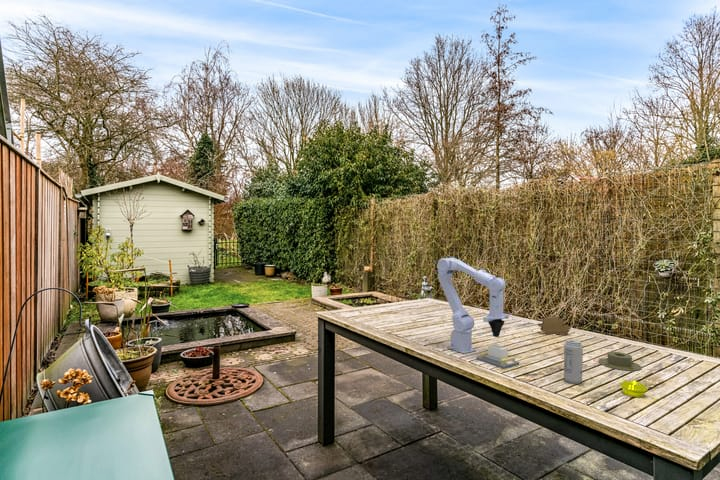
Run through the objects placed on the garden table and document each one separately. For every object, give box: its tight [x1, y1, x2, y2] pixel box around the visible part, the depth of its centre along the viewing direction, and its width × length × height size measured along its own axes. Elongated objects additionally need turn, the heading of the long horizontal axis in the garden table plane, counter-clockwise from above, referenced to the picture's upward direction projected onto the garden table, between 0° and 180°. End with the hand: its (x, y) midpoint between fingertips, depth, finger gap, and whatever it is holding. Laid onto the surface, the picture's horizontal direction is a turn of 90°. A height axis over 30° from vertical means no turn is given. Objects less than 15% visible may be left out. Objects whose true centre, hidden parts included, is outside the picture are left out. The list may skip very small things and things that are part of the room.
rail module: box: [487, 343, 509, 360], centre depth 166 cm, size 7×4×5 cm, turn 32°
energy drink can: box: [563, 338, 584, 385], centre depth 145 cm, size 6×6×15 cm
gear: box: [619, 379, 648, 398], centre depth 134 cm, size 8×4×8 cm
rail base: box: [476, 351, 520, 370], centre depth 166 cm, size 14×10×3 cm
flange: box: [598, 351, 642, 372], centre depth 163 cm, size 5×15×15 cm
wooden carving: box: [537, 315, 572, 335], centre depth 212 cm, size 16×5×10 cm, turn 80°
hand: (495, 336), depth 172 cm, fingers closed
